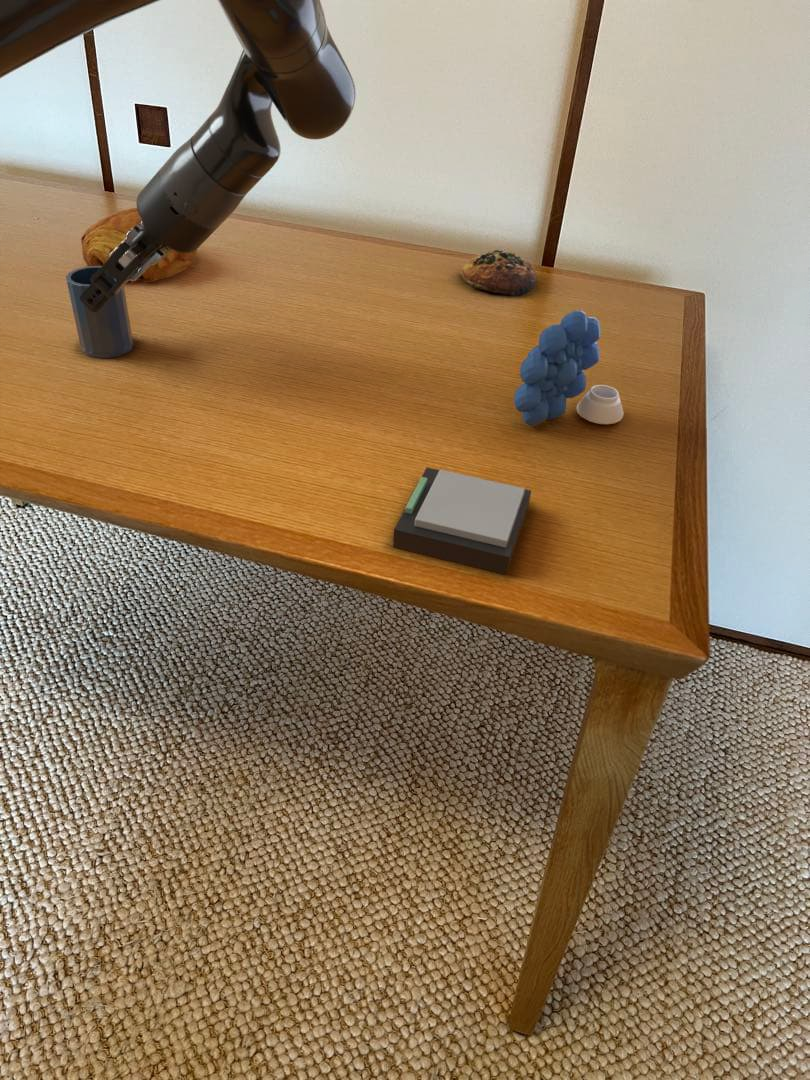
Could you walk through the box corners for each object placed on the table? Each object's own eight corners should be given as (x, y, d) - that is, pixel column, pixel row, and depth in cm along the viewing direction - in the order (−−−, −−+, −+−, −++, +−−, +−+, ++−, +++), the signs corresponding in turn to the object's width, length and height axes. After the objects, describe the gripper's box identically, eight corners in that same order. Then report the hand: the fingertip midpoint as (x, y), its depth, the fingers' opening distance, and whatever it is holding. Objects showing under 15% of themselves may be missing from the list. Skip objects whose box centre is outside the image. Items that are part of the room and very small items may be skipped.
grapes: (555, 387, 94) (575, 286, 86) (600, 412, 90) (625, 309, 82) (483, 417, 88) (497, 311, 80) (528, 445, 84) (548, 337, 76)
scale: (392, 547, 70) (394, 521, 68) (424, 484, 77) (427, 459, 76) (506, 575, 68) (511, 549, 66) (528, 507, 75) (532, 483, 74)
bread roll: (517, 301, 111) (518, 264, 109) (446, 292, 116) (446, 256, 114) (549, 281, 119) (552, 245, 116) (482, 272, 124) (482, 238, 121)
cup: (84, 361, 92) (68, 288, 87) (78, 339, 96) (63, 268, 91) (136, 354, 94) (125, 283, 89) (129, 333, 98) (117, 263, 93)
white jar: (570, 419, 88) (614, 432, 87) (575, 395, 86) (621, 408, 85) (583, 399, 92) (626, 411, 90) (589, 376, 90) (633, 388, 88)
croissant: (71, 283, 113) (51, 227, 108) (147, 237, 122) (132, 183, 117) (148, 306, 108) (132, 249, 102) (222, 257, 117) (211, 201, 111)
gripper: (192, 146, 86) (108, 241, 94) (133, 184, 75) (45, 288, 84) (243, 203, 89) (158, 291, 97) (194, 248, 78) (103, 342, 86)
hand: (106, 290), depth 90 cm, fingers open, 8 cm apart
